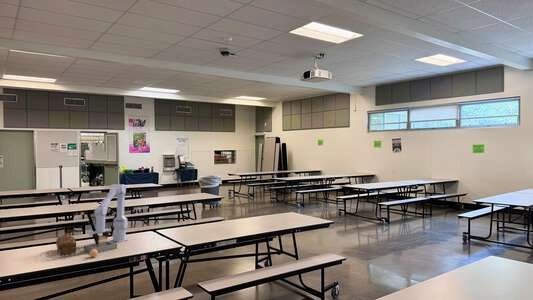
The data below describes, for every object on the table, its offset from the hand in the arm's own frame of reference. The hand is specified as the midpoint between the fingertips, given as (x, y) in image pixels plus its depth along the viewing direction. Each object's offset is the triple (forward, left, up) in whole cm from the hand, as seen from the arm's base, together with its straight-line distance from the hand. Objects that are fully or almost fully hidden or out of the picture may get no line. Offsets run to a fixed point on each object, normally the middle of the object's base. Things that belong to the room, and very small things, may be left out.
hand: (100, 243), depth 244 cm
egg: (+13, -12, -4) cm, 18 cm away
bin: (0, 0, -4) cm, 4 cm away
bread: (-16, -16, -5) cm, 23 cm away
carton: (0, 0, -2) cm, 2 cm away
